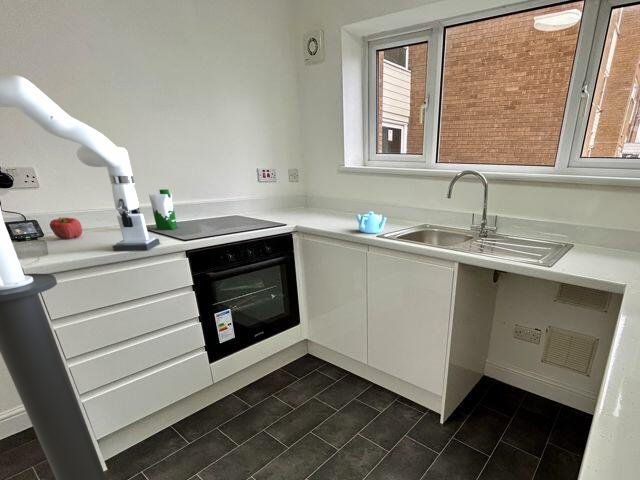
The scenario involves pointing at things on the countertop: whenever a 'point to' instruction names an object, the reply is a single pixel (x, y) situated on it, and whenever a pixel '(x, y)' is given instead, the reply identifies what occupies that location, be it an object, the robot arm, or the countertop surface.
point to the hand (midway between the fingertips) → (133, 225)
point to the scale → (136, 245)
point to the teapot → (371, 223)
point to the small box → (134, 229)
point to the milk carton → (163, 210)
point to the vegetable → (66, 227)
